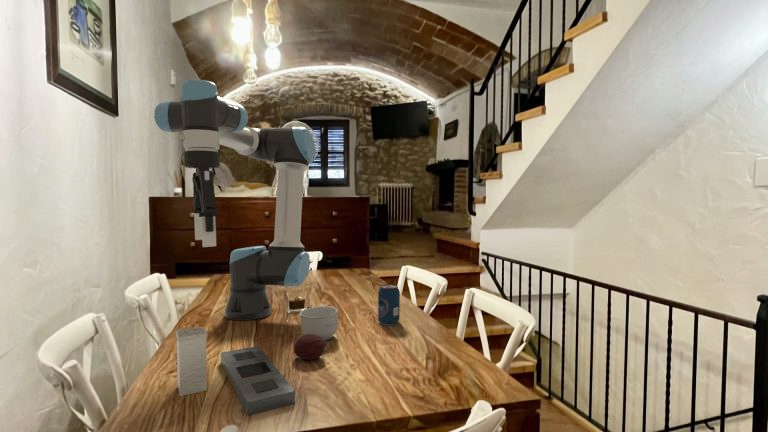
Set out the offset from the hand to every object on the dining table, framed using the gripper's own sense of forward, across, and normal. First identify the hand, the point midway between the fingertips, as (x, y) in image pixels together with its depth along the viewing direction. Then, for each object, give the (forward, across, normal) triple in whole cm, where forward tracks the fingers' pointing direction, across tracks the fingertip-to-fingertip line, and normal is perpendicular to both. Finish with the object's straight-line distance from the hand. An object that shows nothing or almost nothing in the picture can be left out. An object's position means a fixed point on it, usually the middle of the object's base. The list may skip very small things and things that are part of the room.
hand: (205, 243), depth 95 cm
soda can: (+31, -8, +55) cm, 64 cm away
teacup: (+31, -7, +31) cm, 44 cm away
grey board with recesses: (+29, +13, +7) cm, 33 cm away
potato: (+30, +7, +22) cm, 38 cm away
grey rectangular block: (+29, +10, -5) cm, 31 cm away
